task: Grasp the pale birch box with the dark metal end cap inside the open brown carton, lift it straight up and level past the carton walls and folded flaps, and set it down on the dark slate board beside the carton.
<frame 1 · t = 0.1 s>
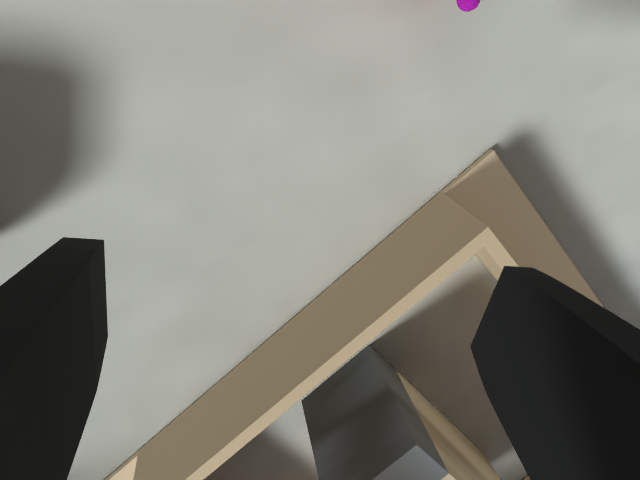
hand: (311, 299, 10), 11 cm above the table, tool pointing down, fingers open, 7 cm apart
carton: (400, 431, 25), on the table
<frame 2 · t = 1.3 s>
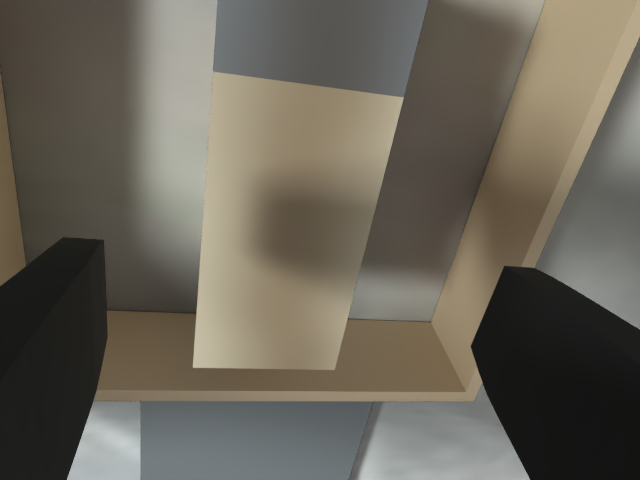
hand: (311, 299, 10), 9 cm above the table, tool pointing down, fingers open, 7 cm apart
slate board: (247, 470, 26), on the table
capped box: (280, 162, 15), in the carton
carton: (272, 126, 17), on the table
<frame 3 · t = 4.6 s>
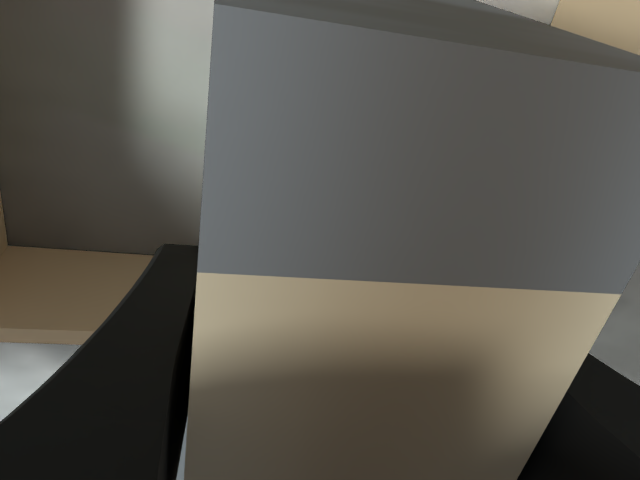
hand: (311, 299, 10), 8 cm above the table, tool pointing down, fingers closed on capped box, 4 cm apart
capped box: (320, 324, 9), point 9 cm above the table, touching gripper
carton: (285, 29, 15), on the table
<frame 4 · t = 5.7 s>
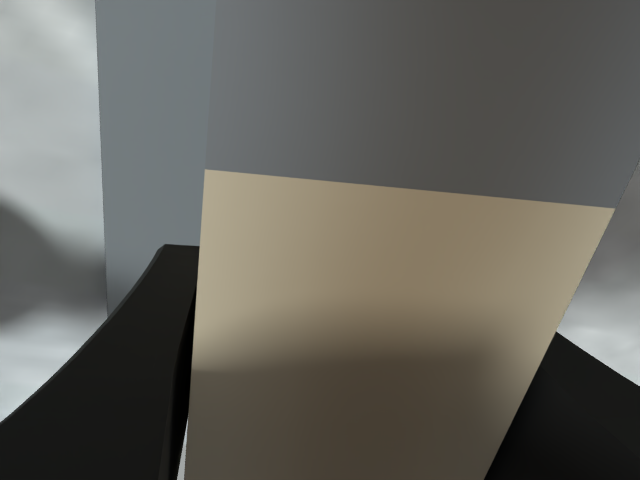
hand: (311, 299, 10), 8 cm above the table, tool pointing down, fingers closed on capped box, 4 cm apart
slate board: (275, 135, 17), on the table
capped box: (321, 278, 9), point 9 cm above the table, touching gripper
when the fingers open (3 cm above the table, at t = 7.0 s): capped box stays where it is, resting on slate board.
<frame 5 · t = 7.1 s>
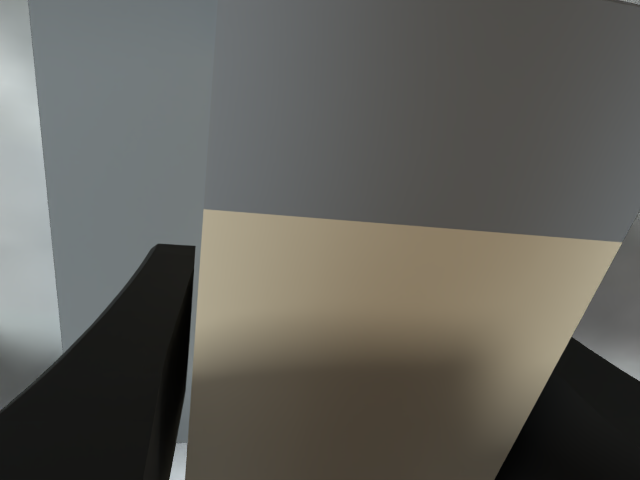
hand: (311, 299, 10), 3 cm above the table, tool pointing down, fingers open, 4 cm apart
slate board: (291, 210, 12), on the table
capped box: (322, 292, 9), on the slate board, point 4 cm above the table
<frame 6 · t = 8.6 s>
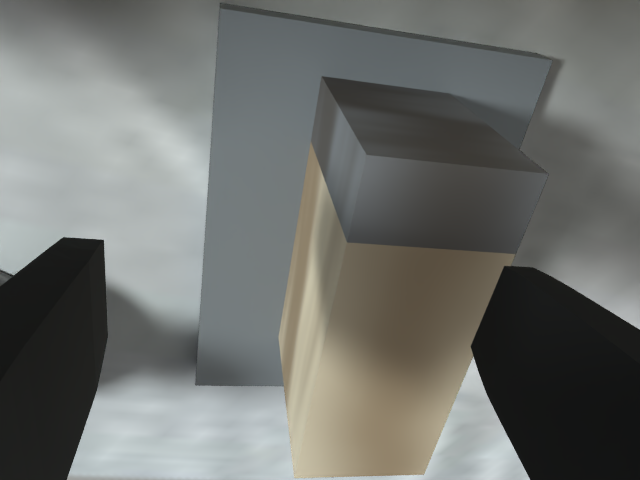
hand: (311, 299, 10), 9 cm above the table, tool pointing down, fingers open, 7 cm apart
slate board: (345, 230, 19), on the table
capped box: (373, 279, 16), on the slate board, point 4 cm above the table
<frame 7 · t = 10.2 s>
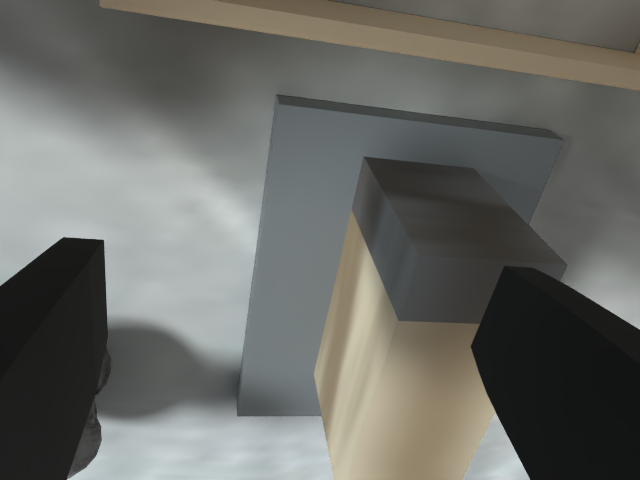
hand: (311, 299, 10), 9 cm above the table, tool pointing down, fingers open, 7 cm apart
slate board: (375, 279, 21), on the table
capped box: (408, 333, 18), on the slate board, point 4 cm above the table
salt shaker: (42, 359, 21), on the table
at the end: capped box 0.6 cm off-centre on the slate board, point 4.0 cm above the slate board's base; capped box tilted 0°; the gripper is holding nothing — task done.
